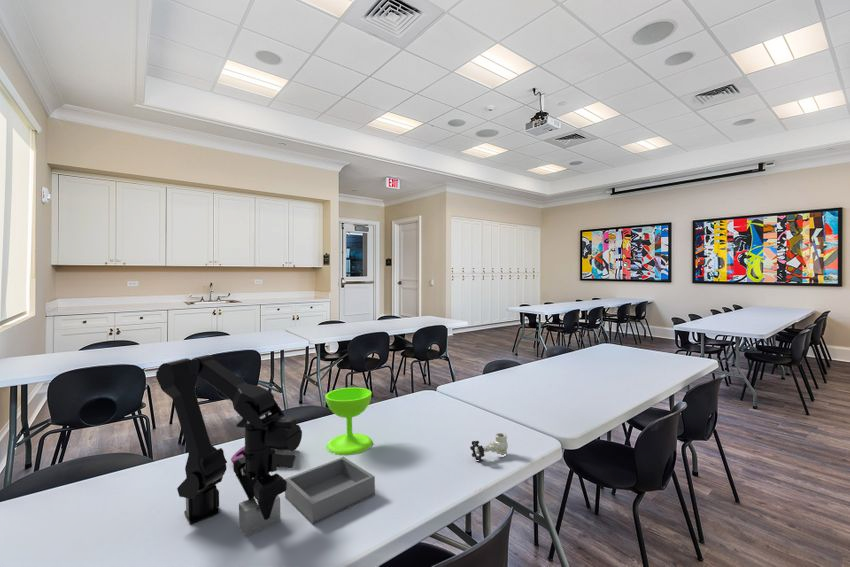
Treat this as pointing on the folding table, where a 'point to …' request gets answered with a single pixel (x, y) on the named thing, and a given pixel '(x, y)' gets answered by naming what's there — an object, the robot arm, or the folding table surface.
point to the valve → (490, 447)
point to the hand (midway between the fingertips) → (259, 510)
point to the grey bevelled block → (256, 516)
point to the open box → (329, 489)
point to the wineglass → (348, 419)
